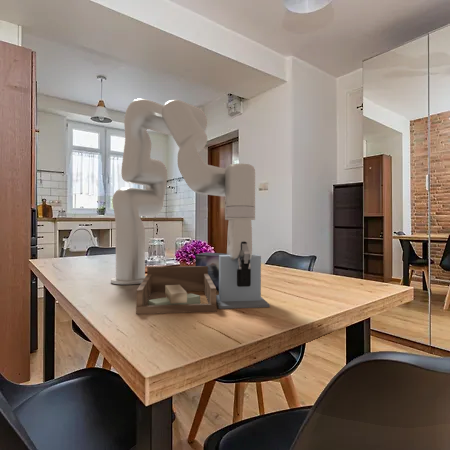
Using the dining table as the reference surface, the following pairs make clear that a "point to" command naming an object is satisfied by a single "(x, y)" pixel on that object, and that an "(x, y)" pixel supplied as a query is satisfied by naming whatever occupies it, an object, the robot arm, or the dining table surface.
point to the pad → (241, 304)
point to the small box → (210, 265)
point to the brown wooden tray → (180, 275)
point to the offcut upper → (175, 294)
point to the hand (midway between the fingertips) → (240, 282)
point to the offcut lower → (164, 301)
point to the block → (229, 280)
